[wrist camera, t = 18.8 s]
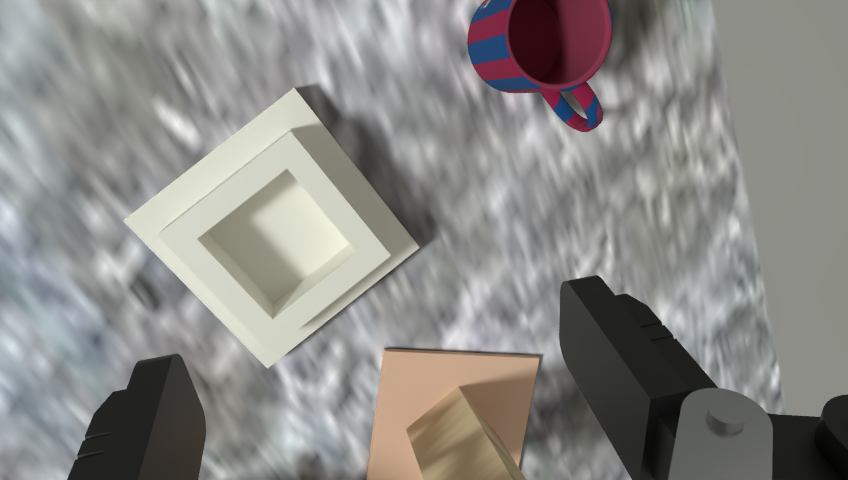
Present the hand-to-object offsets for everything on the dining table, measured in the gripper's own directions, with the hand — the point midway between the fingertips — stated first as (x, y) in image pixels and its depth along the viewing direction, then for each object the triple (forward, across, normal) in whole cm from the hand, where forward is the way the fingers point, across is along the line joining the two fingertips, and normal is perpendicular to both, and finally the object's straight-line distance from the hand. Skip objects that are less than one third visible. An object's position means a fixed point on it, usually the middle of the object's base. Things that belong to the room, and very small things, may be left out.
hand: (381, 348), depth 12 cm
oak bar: (+21, -4, +27) cm, 35 cm away
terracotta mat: (+22, -4, +27) cm, 35 cm away
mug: (+29, -13, +3) cm, 32 cm away
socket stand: (+26, +5, +10) cm, 28 cm away
